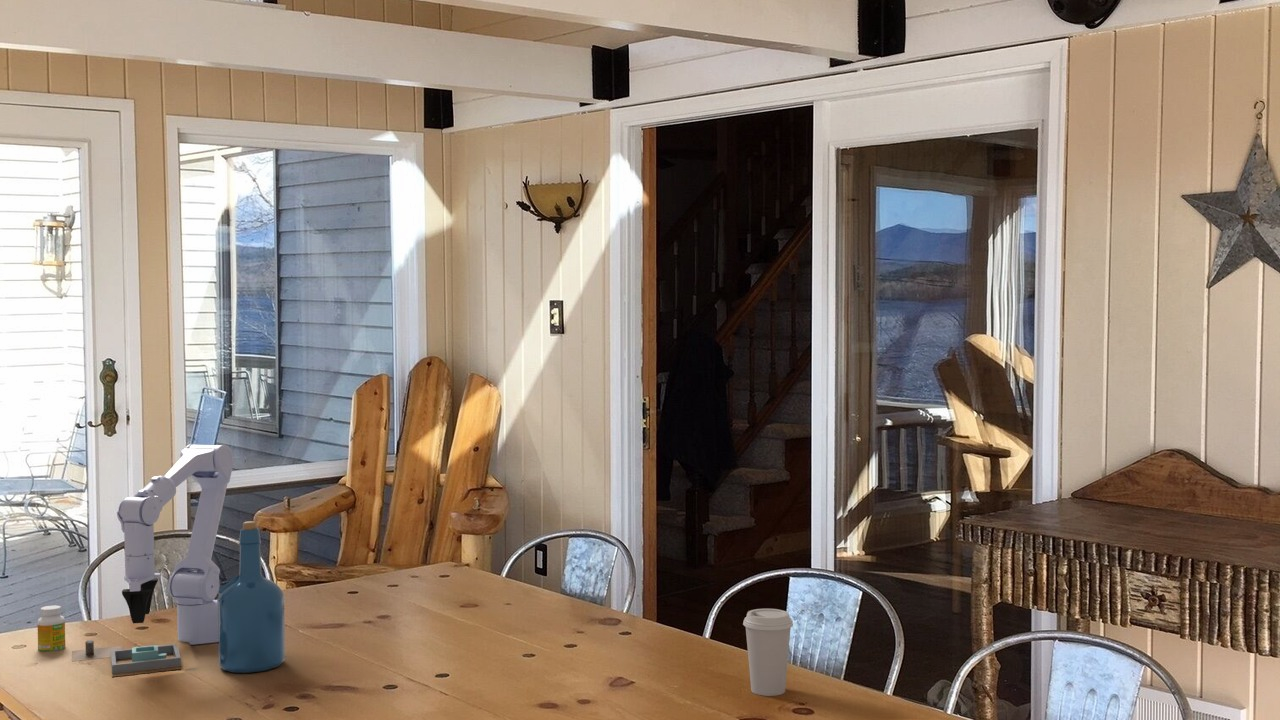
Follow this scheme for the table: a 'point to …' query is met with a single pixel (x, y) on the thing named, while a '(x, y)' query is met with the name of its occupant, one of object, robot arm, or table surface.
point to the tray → (145, 664)
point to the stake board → (97, 653)
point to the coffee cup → (768, 650)
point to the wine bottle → (250, 613)
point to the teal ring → (146, 653)
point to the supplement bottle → (51, 629)
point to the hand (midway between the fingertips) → (141, 618)
